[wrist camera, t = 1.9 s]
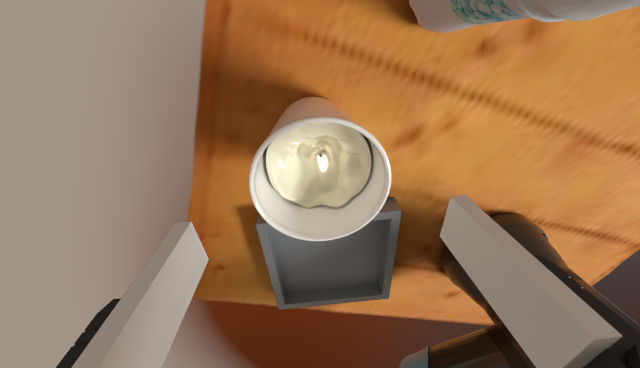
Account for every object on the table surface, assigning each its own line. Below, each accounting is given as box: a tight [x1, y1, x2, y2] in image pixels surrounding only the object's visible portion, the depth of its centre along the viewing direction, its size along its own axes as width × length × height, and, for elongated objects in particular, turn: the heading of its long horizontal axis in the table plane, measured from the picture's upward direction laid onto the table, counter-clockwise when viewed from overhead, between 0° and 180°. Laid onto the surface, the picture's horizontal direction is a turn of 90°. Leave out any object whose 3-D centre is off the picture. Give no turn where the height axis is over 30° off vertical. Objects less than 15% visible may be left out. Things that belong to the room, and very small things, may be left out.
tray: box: [255, 197, 402, 310], centre depth 34 cm, size 18×18×3 cm
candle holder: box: [249, 97, 391, 241], centre depth 21 cm, size 10×10×12 cm
